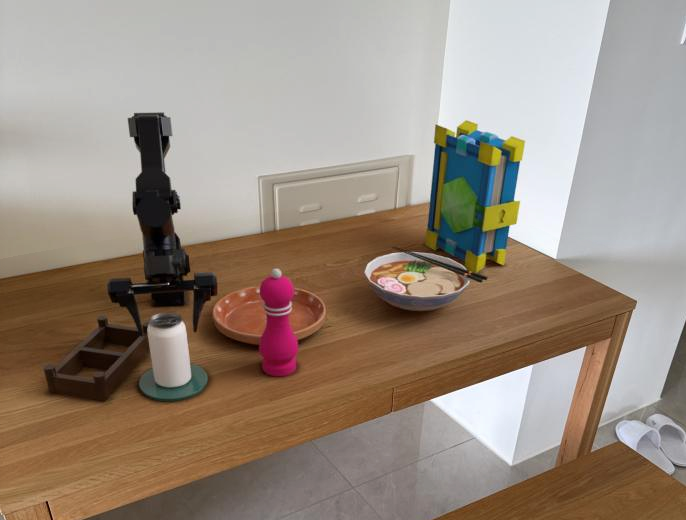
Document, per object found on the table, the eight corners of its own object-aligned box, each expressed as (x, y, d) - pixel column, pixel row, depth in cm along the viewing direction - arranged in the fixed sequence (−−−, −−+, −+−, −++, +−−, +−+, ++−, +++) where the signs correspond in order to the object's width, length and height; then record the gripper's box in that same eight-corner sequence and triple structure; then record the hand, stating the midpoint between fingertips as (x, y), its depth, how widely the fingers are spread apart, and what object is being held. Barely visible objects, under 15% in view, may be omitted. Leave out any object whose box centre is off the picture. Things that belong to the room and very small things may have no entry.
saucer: (190, 325, 147) (188, 309, 144) (271, 289, 161) (270, 274, 159) (269, 365, 135) (268, 348, 133) (348, 323, 150) (348, 307, 148)
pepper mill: (260, 357, 137) (255, 260, 126) (298, 357, 138) (297, 260, 126) (259, 378, 131) (254, 278, 120) (299, 377, 132) (297, 278, 120)
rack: (104, 337, 141) (100, 314, 139) (156, 344, 140) (153, 322, 137) (47, 393, 125) (41, 368, 122) (105, 402, 123) (100, 377, 121)
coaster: (208, 363, 135) (208, 360, 134) (206, 399, 125) (206, 396, 125) (142, 366, 133) (142, 363, 133) (135, 403, 123) (135, 400, 123)
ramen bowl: (338, 300, 158) (338, 266, 153) (404, 271, 172) (407, 238, 167) (426, 342, 144) (430, 305, 140) (491, 306, 158) (496, 272, 154)
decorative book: (471, 277, 171) (488, 148, 154) (413, 243, 186) (423, 123, 169) (515, 265, 177) (536, 140, 160) (456, 234, 193) (469, 117, 176)
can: (192, 387, 127) (185, 327, 120) (154, 390, 126) (145, 330, 119) (191, 368, 132) (184, 309, 125) (154, 371, 131) (146, 312, 124)
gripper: (98, 235, 120) (106, 325, 117) (212, 229, 124) (221, 316, 121) (108, 260, 131) (116, 342, 128) (212, 253, 134) (221, 334, 132)
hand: (168, 333), depth 127 cm, fingers open, 9 cm apart
